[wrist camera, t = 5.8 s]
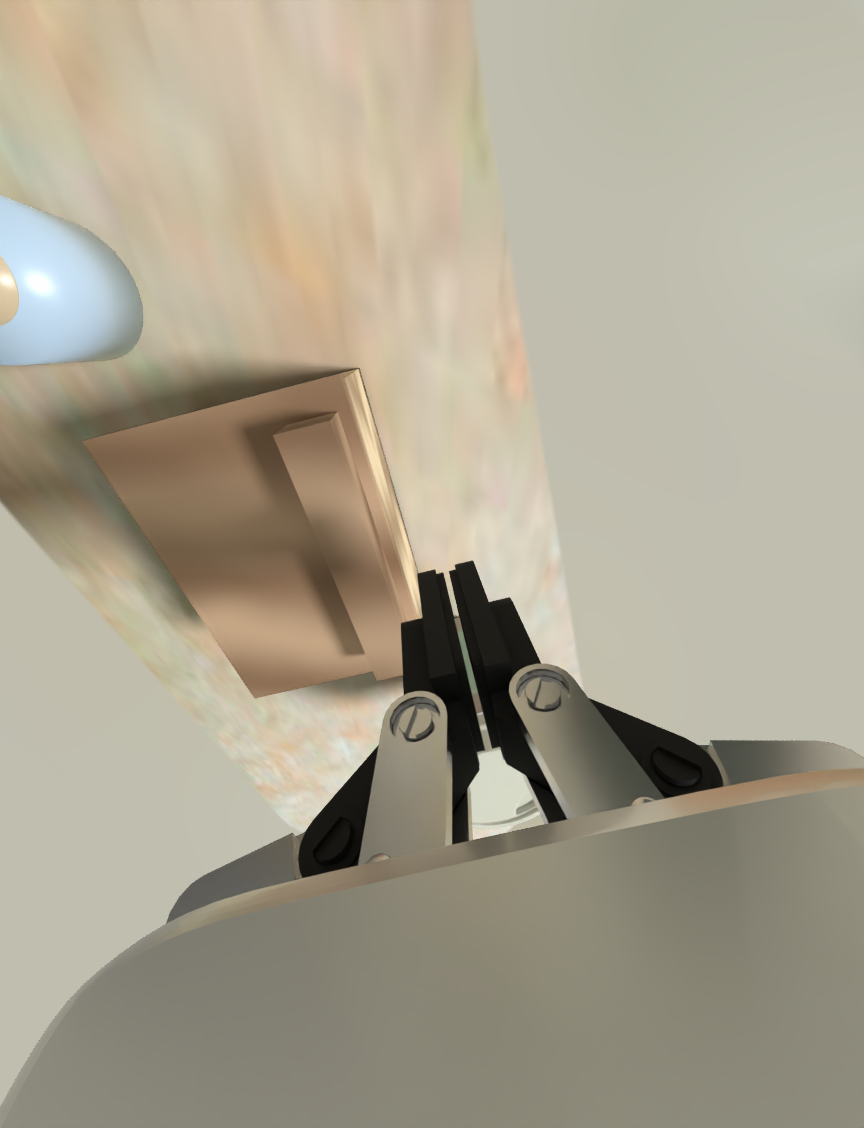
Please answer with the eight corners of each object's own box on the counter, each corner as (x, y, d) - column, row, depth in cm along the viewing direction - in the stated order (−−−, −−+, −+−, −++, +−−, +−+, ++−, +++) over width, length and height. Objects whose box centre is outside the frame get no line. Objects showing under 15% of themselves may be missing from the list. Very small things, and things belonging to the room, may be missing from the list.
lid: (96, 437, 15) (38, 454, 13) (342, 372, 15) (331, 378, 12) (258, 687, 22) (242, 729, 20) (427, 648, 22) (431, 686, 19)
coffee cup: (464, 696, 34) (494, 848, 24) (389, 651, 31) (387, 805, 21) (537, 637, 32) (607, 781, 21) (464, 581, 28) (504, 718, 18)
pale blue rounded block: (-23, 236, 17) (-185, 194, 12) (95, 202, 17) (-24, 146, 12) (64, 372, 20) (-41, 381, 15) (166, 345, 20) (93, 345, 15)
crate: (184, 413, 21) (101, 441, 15) (359, 368, 21) (344, 377, 15) (287, 610, 28) (258, 683, 22) (420, 579, 28) (427, 644, 22)
